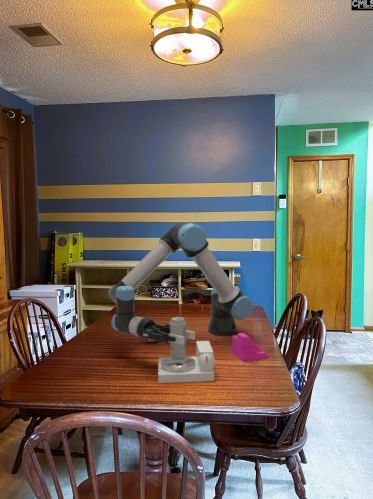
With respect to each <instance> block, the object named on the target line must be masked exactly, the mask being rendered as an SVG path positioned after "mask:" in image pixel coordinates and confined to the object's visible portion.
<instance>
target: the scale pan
mask: <svg viewBox="0 0 373 499" xmlns="http://www.w3.org/2000/svg"><path fill="white" fill-rule="evenodd" d="M191 357H192V356H187V355H186V356H185V358H184V359H182V360H174V359H172V357H171V356H170V355H169V356H167V357H163V358H164V359H163V360H162V361H161V367H162V368H163V369H164V370H166V371H169V372H186V371H190V370H192V369H193V368H194V367H195V360H194V359H193V358H191Z"/></svg>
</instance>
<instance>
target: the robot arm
mask: <svg viewBox="0 0 373 499" xmlns="http://www.w3.org/2000/svg"><path fill="white" fill-rule="evenodd" d="M180 249H181V250H182V252H183V253H184V255H186V257H187V259H193V261H194V263H195V264H196V265H197V267H198V268H199V270H200V271H201V273H202V274H203V276H204V277H205V278H206V280H207V281H208V282H209V284H210V285H211V287H212V289H211V294H210V298H211V300H210V302H211V304H210V306H211V307H210V308H211V310H210V312H211V314H210V319H209V322H208V326H207V331H208V333H210V334H212V335H216V336H231V335H232V336H233V335H235V334H237V332H238V326H237V322H236V320H239V321H241V320H242V321H243V320H246V319H247V318H248V317H249V316H250V315H251V313H252V312H253V307H254V306H253V304H254V303H253V300H252V299H251V298H250V297H249V296H247V295H245V294H244V293H243V292H242V290H241V288H240V287H239V286H237V285H234V284H233V283H232V281H231V279H230V278H229V276H228V275H227V273H226V272H225V271H224V269H223V268H222V266H221V265H220V264H219V262H218V260H217V259H216V258H215V256H214V255H213V253H212V252H211V250H210V249H209V241H208V240H207V232H206V231H205V229H204V228H203V227H202V226H201V225H198V224H195V223H191V222H190V223H177V224H175V225H173V226H172V227H171V228H169V230H168V229H167V231H166V232H165V233H164V234H163V236H161V237H160V239H159V240H158V244H156V245H155V246H154V247H153V248H152V249H151V250H150V251H149V252H148V253H147V254H146V255H145V256H144V257H143V258H142V259H141V260H140V261H139V262H138V263H137V264H136V265H135V266H134V267H133V268H132V269H131V270H130V271H129V272H128V273H127V274H126V275H125V276H124V277H123V278H122V279H121V280H120V281H119V282H118V283H117V284H114V285H112V286H111V287H110V288H109V289H108V297H109V298H110V300H111V301H112V302H113V303H115V305H116V313H115V314H114V315H113V316H112V319H111V320H110V321H111V322H110V324H111V327H112V329H114V330H115V331H117V332H119V333H123V334H125V333H126V334H128V335H132V336H133V335H134V336H136V337H137V338H138V337H141V338H143V339H147V338H148V339H152V340H155V341H154V342H158V341H159V342H158V343H165V344H169V343H170V342H174V343H178V344H182V345H184V337H183V336H179V335H174V334H170V323H166V322H165V323H163V325H161V324H160V323H159V324H158V323H157V324H156V322H155V321H154V320H153V319H151V318H145V317H141V316H135V312H136V311H135V294H136V293H135V291H136V289H137V288H138V287H139V286H141V285H142V284H143V282H144V281H145V280H146V279H147V278H148V277H149V276H150V275H151V274H152V273H153V272H155V270H156V269H158V268H159V266H161V265H162V263H163V262H164V261H165V260H167V258H168V257H169V256H170V255H174V254H175V253H176V252H178V250H180ZM148 339H147V340H148ZM186 339H190V340H195V339H196V333H195V331H192V330H188V329H186Z"/></svg>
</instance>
